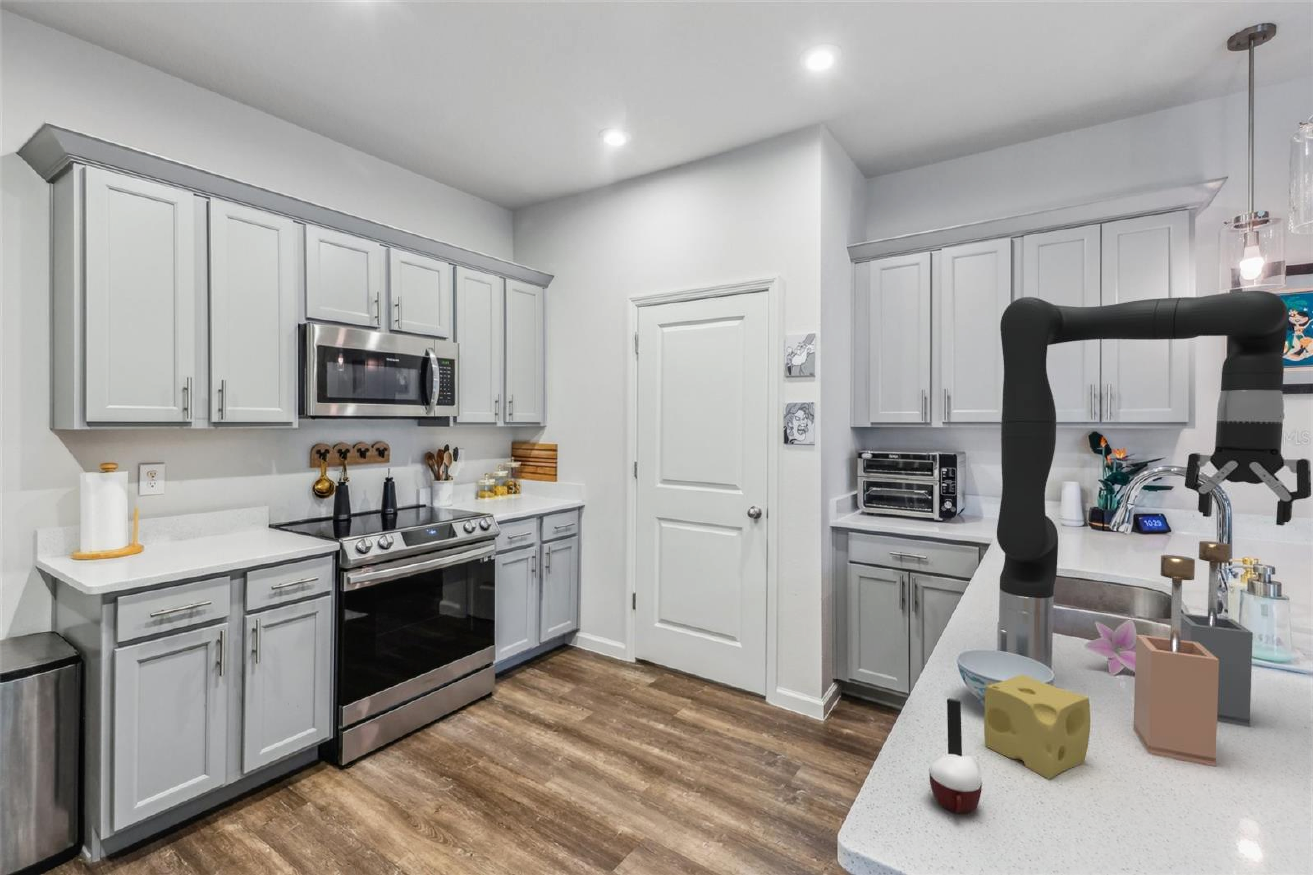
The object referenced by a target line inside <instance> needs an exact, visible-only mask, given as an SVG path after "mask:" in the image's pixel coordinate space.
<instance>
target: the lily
mask: <svg viewBox="0 0 1313 875" xmlns="http://www.w3.org/2000/svg"><path fill="white" fill-rule="evenodd" d="M1094 624H1095V627H1096V629H1097V631H1098V634H1099V635H1100V637H1098V638H1096V639H1093V640H1090V641H1088V642H1086V643H1084V645H1083V647H1084V649H1087V650H1090V651H1091V652H1094V653H1096V654H1099V655H1101V656H1104V657H1106V658H1107V661H1106V662H1107V665H1108V670H1109V675H1110V676H1115V675H1118V673H1120V672H1122V670H1123V669H1124V668H1125V667H1126V668H1127V669H1129V670H1131V671H1133V673H1135V655H1136V634H1137V630H1136V625H1135V622H1134V621H1133V620H1132V619H1128V620H1125V621H1124V622H1123V623H1121V624H1120V625H1119V626H1118V627H1116V629H1114V630H1113V629H1112V628H1110V627H1108V626H1106V625H1105V624H1104V623H1101V622H1099V621H1095V622H1094ZM1137 635H1138V634H1137Z"/></svg>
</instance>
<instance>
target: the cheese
mask: <svg viewBox="0 0 1313 875" xmlns="http://www.w3.org/2000/svg"><path fill="white" fill-rule="evenodd" d="M983 716H984V720H983V726H984V728H983V729H984V730H983V731H984V745H985V747H986V748H988V749H990V750H992V751H994V752H996V753H999V754H1000V755H1002V756H1004V757H1007V758H1009V759H1012V760H1018V761H1023V763H1024V765H1025V768H1027V769H1029V770H1031V771H1033V772H1035V773H1036V774H1039V775H1040V776H1042V777H1044V779H1048V780H1051V779H1053V778H1054V777H1056V776H1057V775H1059V774H1061V773H1062V772H1064V771H1065V772H1066V771H1067V770H1068V769H1069V770H1070V769H1071V768H1074V767H1077V766H1078V765H1081V764H1084V763H1085V761H1086V756H1087V752H1088V748H1089V740H1090V734H1091V731H1090V730H1091V708H1090V698H1089V696H1086V695H1084V694H1081V693H1080V694H1079V693H1077V692H1074V691H1070V690H1066V689H1063V688H1060V687H1057V686H1054V685H1052V686H1051V685H1049V684H1046V683H1043V682H1040V681H1038V680H1035V679H1033V678H1030V677H1028V676H1025V675H1019V676H1016V677H1013V678H1010V679H1008V680H1005V681H1002V682H999V683H995V684H991V685H988V686H986V691H985V708H984V715H983Z"/></svg>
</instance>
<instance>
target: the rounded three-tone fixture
mask: <svg viewBox="0 0 1313 875" xmlns="http://www.w3.org/2000/svg"><path fill="white" fill-rule="evenodd" d="M946 708H947V710H946V713H947V716H946V717H947V753H946V754H944V755H941V756H940V757H938V759H936V760H935V761H934V762H933V763H932V764H931V765H930V766H929V768H928V771H929V784H930V789H931V791H932V794H933V797H934V798H935V800H936V801H937V803H939V805H941V806H942V807H944V808H945V809H946V810H948V811H950V812H952V813H953V812H954V813H957V814H966V813H967V814H968V813H970V812H972V811H974V810H975V809H976V808H977V807H978V805H979V802H980V800H981V797H982V796H981V795H982V789H983V788H982V786H983V782H982V777H981V775H982V774H981V770H980V763H979V762H978V761H977V759H976V758H975V757H974V756H971V755H963V744H962V741H963V738H962V702H961V700H960V699H957V698H951V697H949V698H947V700H946Z"/></svg>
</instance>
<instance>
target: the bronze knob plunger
mask: <svg viewBox="0 0 1313 875" xmlns="http://www.w3.org/2000/svg"><path fill="white" fill-rule="evenodd" d="M1195 564H1196V559H1194V558H1191V557H1188V556H1182V555H1174V554H1173V555H1172V554H1162V555H1160V576H1161V577H1165V578H1168V579H1171V598H1170V600H1171V604H1170V606H1171V607H1170V608H1171V609H1170V633H1169V634H1170V635H1169V636H1170V637H1169V639H1170V651H1171V652H1178V653H1180V638H1181V613H1182V599H1183V598H1182V597H1183V596H1182V594H1183V581H1194V580H1195V572H1196V571H1195V570H1196V569H1195V566H1196V565H1195Z"/></svg>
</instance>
